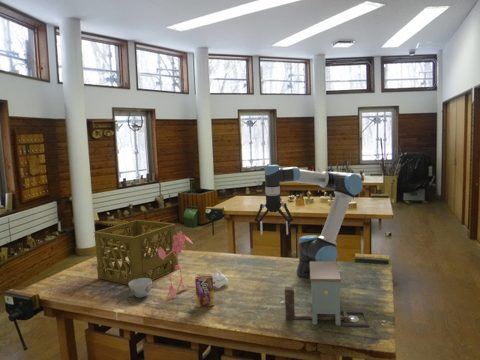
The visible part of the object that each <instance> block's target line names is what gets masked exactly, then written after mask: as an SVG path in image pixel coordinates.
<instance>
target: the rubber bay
mask: <svg viewBox="0 0 480 360" xmlns="http://www.w3.org/2000/svg"><path fill="white" fill-rule="evenodd" d="M343 312H347V315H349V314H351V315H355V314H356V315H362V317H363V319H364V322H365V323H355V322H350V323H349V322H344V323H342V327H360V328H361V327H362V328H363V327H364V328H365V327H366V328H367V327H368V328H369V327H370V324H369V321H368V318H367V314H366V311H363V310H362V311H359V310H354V311H353V310H340V314H343Z"/></svg>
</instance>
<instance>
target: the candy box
mask: <svg viewBox="0 0 480 360" xmlns="http://www.w3.org/2000/svg"><path fill="white" fill-rule="evenodd" d="M212 275H213V273H208V274H198V275H197V274H196V275H195V278H194V279H195V280H194V281H195V282H194V283H195V293H196V294H195V296H196V307H197V308H202V307H210V306H215V294H214V292H215V290H214V285H213V284H214V282H213V277H212Z"/></svg>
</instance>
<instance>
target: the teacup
mask: <svg viewBox="0 0 480 360" xmlns="http://www.w3.org/2000/svg"><path fill="white" fill-rule="evenodd" d="M152 284H153V281H152V280H151V279H149V278H139V279H135V280H132V281H130V282H129V285H128V288H129V290H130V293H131V294H132V295H133V296H135V297H136V298H144V297H146V296H148V293H150V291H151V288H152Z"/></svg>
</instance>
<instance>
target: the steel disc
mask: <svg viewBox="0 0 480 360" xmlns="http://www.w3.org/2000/svg"><path fill="white" fill-rule="evenodd" d="M347 317H348V322H350V323H358V322H359V321H360V318H359V316H356V315H349V316H348V315H347Z"/></svg>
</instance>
